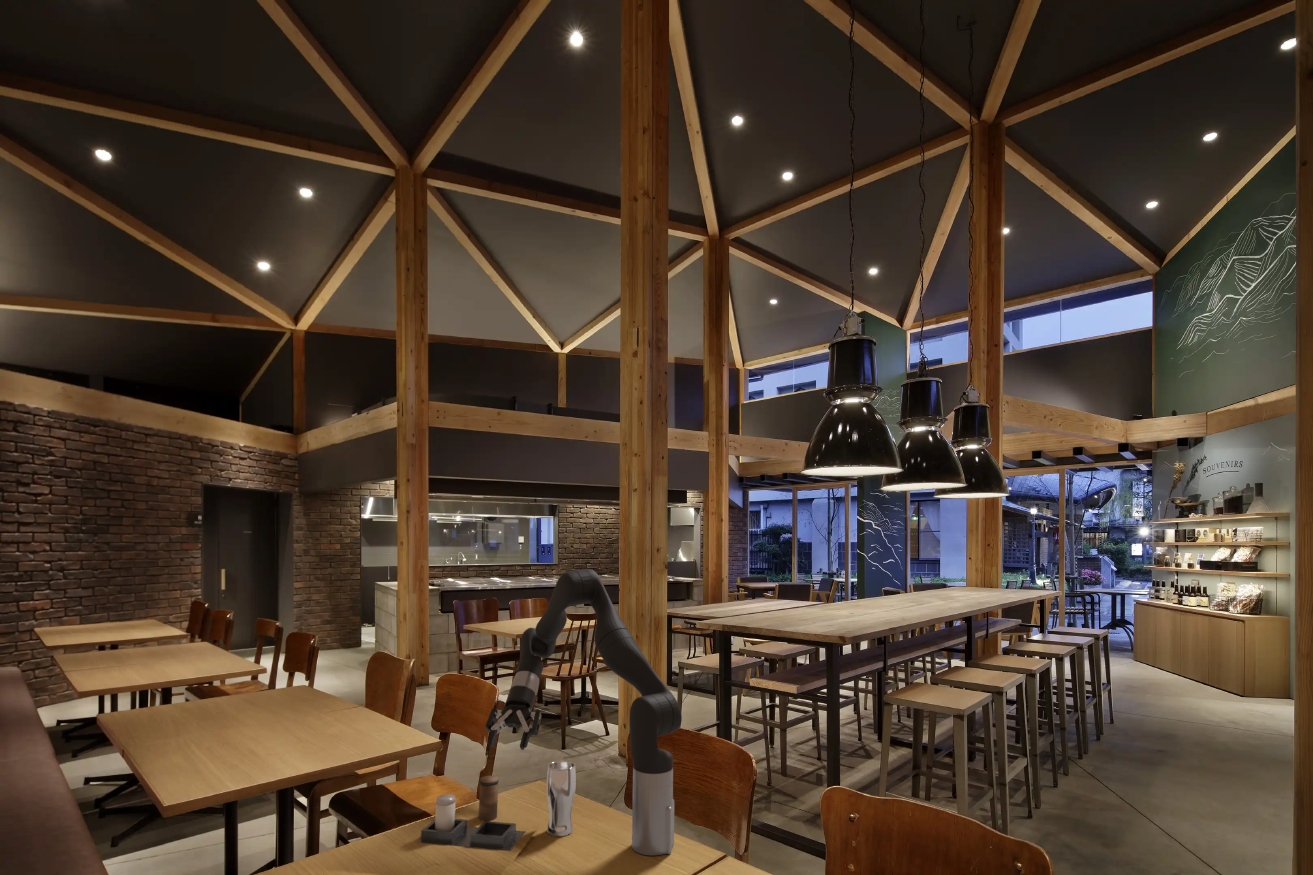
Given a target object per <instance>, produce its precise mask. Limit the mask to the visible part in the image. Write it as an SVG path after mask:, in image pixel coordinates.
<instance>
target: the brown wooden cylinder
mask: <svg viewBox="0 0 1313 875" xmlns="http://www.w3.org/2000/svg"><path fill="white" fill-rule="evenodd" d="M499 782H500V781H499V776H497V775H484V776H482V777H480V778H479V797H478V798H479V799H478V820H479V821H482V822H484V821H491V822H492V821H494V820H496V819H497V817H498V803H499V802H498V801H499V800H498V798H499Z"/></svg>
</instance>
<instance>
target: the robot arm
mask: <svg viewBox="0 0 1313 875" xmlns="http://www.w3.org/2000/svg"><path fill="white" fill-rule="evenodd" d="M598 574H599V573H597V572H596V571H595V570H593V569H592V568H583V569H577V570H576V569H575V570H570V571H566V572H563V573H562V574H561V575H560V576H559V577H558V580H557V581H556V584H555V586H554V589H553V591H552V595H551V597H550V600H549V603H548V605H547V608H546V610H545V611H544V613H543V615H542V616H541V618H540V619H539V620H538V622H537V624H536V625H535V627H528V628H527V629H525V630H524V631H523V632H522V635H521V638H520V641H519V649H520V650H519V653H520V654H519V663H518V667H517V669H516V672H515V675H514V678H513V680H512V683H511V685H510V688H509V691H508V694H507V697H506V701H505V703H504V707H503V708H502V709H497V707H492V709H491V710H490V713H489V716H488V718H487V721H486V723H485V728H486V731H487V732H488V733H489V735H488V739H487V744H488V746H489V748H491V749H492V748H494V747H495V743H496V741H497V737H498V734H499V733H500V732H501V731H504V730H505V729H506V728H515V729H520V728H521V727H522V729H523V731H524V732H523V733H522V736H521V739H520V740H521V741H520V743H519V748H520V750H521V751H524V750H525V749H526V748H527V747H528V745H529V741H530V737H532V736H537V735H539V732H540V727H541V726H540V725H541V721H542V713H541V711H540V709H536V710H535V711H532V710H533V707H534V704H535V701H536V696H537V695H538V690H539V685H540V679H541V677H542V675H543V674H542V673H543V670H544V662H543V661H542V659H547V658H550V657H551V656H552V655H553V654H554V652H555V649H556V646H557V639H558V637H559V635H560V634H561V632H563V631H564V630H563V629H565V626H566V624H567V620H568V615H567V611H566V609H567V608H568V607H571V606H578V605H579V606H580V605H585V604H589V605H590V606H591V608H592V609H593V610H594V614H595V615H596V623H595V629H594V645H595V647H596V649H597V651H598V653H599V655H600V656H601V658H602V661H603V662H604V664H605V665H606V666H607V668H608V669H609V670H610V671H612V672H613V673H615V674H616V675H617V676H618V677H620V678H621V679H623V680H624V681H626V682H627V683H628V684H629V685H631V686H632V687H633V688H635V689H636V690H637V692H638V693H639V694H641V696H638V697H636V698H635V699H634V700H633V701H632V703H631V706H630V710H629V739H630V740H629V741H630V742H629V743H630V744H629V746H630V753H631V758H632V809H631V810H632V813H631V814H632V819H631V820H632V821H631V822H632V824H631V847H632V850H633V851H634V852H636V853H638V854H640V855H644V856H660V855H667V854H668V855H670V854H671V853H672V850H673V847H674V843H675V799H674V797H673V796H674V786H673V785H674V756H673V754H672V753H671V752H670V751H668V750H665V749H662V748H659V742H658V738H659V737H661V736H666V735H669V734H672V733H674V732H676V731H678V730H679V728H680V727H681V725H682V719H683V718H682V710H681V706H680V705H679V702H678V701H677V699H676V697H675V696H674V694H673V693H672V692H671V690H670V689H669V688H668V687H667V685H666V684H665V683H664V681H663V679H661V678H660V676H659V675H658V674H657V672H656V671H655V670H654V668H653V667H652V665H651V664H650V662H649V661H648V660H647V657H646V656H645V655H644V654H643V652H642V650H641V648H640V647H639V645H638V644H637V641H636V640H635V638H634V636H633V635H632V633H631V632H630V630H629V629H628V627H627V625H625V623H624V621H623V618H621V615H620V614H619V613H618V611H617V610H616V608H615V606H614V603H613V602H612V600H611V598H610V595H609V594H608V592H607V589H606V586H604V583H603V581H602V579H601V577H600V576H599V575H598ZM539 657H540V658H539ZM541 658H542V659H541ZM500 716H501V717H500ZM499 717H500V718H499ZM531 718H532V720H533V722H532V727H529V725H528V723H527V722H528V721H530V719H531Z"/></svg>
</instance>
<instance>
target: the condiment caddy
mask: <svg viewBox="0 0 1313 875" xmlns="http://www.w3.org/2000/svg"><path fill="white" fill-rule="evenodd" d="M526 833H527V832H526V831H525V830H517V823H512V822H501V821H492V820H491V821H482V823H481V824H480V825H479V826H477V827H476V826H468V819H464V818H455V827H454V829H453V830H452V831H439V830H435V818H434V819H433V820H432V821H431V822H430V823H428V825H426V826H425V827H423V829H422V830H421V834H420V839H419V840H417V843H420V844H431V845H443V846H452V847H464V848H474V849H475V848H476V849H486V850H497V851H508V852H511V851H512V849H513V848H514V847H515V846H516V844H518V842H519V841H520V840H521V839H522V837H523V836H524V835H525V834H526Z"/></svg>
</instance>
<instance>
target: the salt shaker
mask: <svg viewBox="0 0 1313 875" xmlns="http://www.w3.org/2000/svg"><path fill="white" fill-rule="evenodd" d="M456 804H457V803H456V795H454V794H449V793H448V794H441V795H439V796H437V797H436V802H435V814H434V816H435V817H434V819H435V830H439V831H452V830H453V829H454V827H455V819H456Z"/></svg>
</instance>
